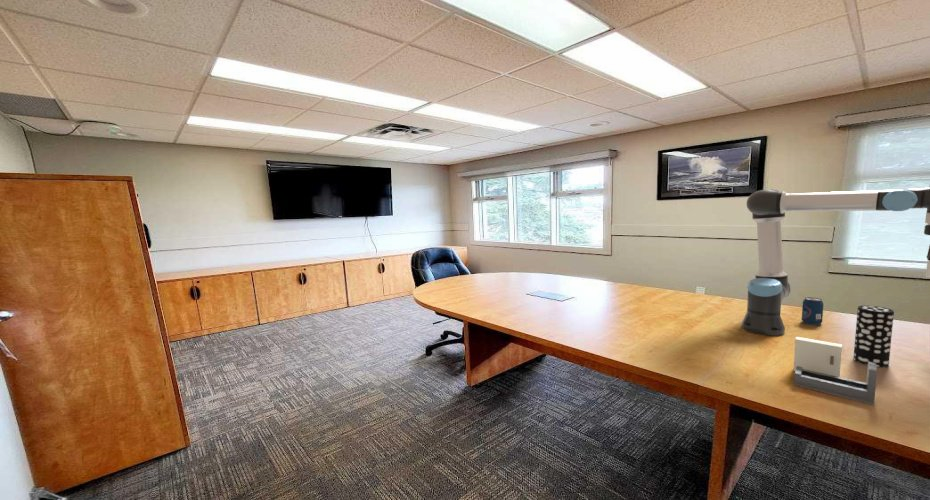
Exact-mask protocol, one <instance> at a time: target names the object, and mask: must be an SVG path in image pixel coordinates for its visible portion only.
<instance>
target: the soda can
mask: <svg viewBox="0 0 930 500" xmlns="http://www.w3.org/2000/svg"><path fill="white" fill-rule="evenodd" d="M824 304H825V303H824V302H823V300H822V299H821V298H819V297H809V296H807V297H804V299H803V300H802V309H801V321H802V322H803V323H804V324H807V325H811V326H820V325H822V323H823V317H824V316H823V315H824Z"/></svg>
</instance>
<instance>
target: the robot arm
mask: <svg viewBox="0 0 930 500" xmlns="http://www.w3.org/2000/svg"><path fill="white" fill-rule="evenodd" d="M746 208H747V209H748V211H749V212H750V213H752V214H751V215H752V220H753V221H755V223H756V231H757V233H756V234H757V251H758V255H757V256H758V271H757V272H756V273H755V274H754V275H755V278H752V279H751V280H749V281H748V284H747V300H746V301H747V305H746V309H747V310H746V313H745V315H744V316H743V317H744V318H743V319H742V321H741V328H742V329H743V330H744V331H747V332H751V333H753V334H758V335H762V336H763V335H764V336H782V335H783V336H784V335H785V331H786V329H785V328H786V327H785V325H784V322H783V320H782V316H781V309H782V307H781V306H782V301H783V300H785V299H786V298H788V296H789V295H790V293H791V285H790V283H789V278H788V277H789V276H788V275H789V274H788V273H787V272H785V271H784V266H783V264H784V262H783V241H782V239H783V238H782V221H783V219H785V217H786V212H833V211H834V212H837V211H838V212H841V211H843V212H847V211H848V212H849V211H852V212H857V211H858V212H859V211H862V212H863V211H865V212H867V211H880V212H881V211H883V212H884V211H885V212H887V211H893V212H904V211H908V210H911V209H926V213H925V221H924V222H925V225H924V230H923V234H924V235H926V236H930V185H929V186H928V187H921V188H899V189H898V188H895V189H894V188H890V189H882V190H879V189H878V190H859V191H858V190H854V191H830V192H828V191H827V192H826V191H825V192H824V191H823V192H822V191H821V192H797V193H795V192H794V193H788V192H786V191H780V190H777V189H770V188H769V189H759V190H757V191H754V192H753V193H751V194H750V195H749V197H747V200H746ZM926 259H927V262H926V269H925V271H926V272H925V278H926V279H928V278H929V279H930V245H929V246H928V251H927V255H926Z"/></svg>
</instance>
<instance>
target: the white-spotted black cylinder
mask: <svg viewBox="0 0 930 500" xmlns="http://www.w3.org/2000/svg"><path fill="white" fill-rule="evenodd" d="M894 314H895V310H894V309H891V308H888V307H883V306H876V305H858V306H857V313H856V323H855V324H856V325H855V334H854V335H855V336H854V337H855V338H854V347H853V360H854V361H856V362H858V363H861V364H863V365H867V366H868V362H874V363H876V367H877V368H887V367H889V365H890V357H891V347H892V346H891V345H892V337H893V324H894V316H895V315H894Z"/></svg>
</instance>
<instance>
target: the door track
mask: <svg viewBox="0 0 930 500" xmlns="http://www.w3.org/2000/svg"><path fill="white" fill-rule="evenodd" d="M877 377H878V367H876V363H874V362H868V365H867V371H866V379H865V380H866V382H865V381H860V380H859V381H858V380H855V379H850V378H846V377H842V376H840V377H837V376H833V375H828V374H824V373H819V372H814V371H810V370H805V369H803V367H799V366H797V367H796V370H795V372H794V380H793V386H795V385H796V387H799V386H800V387H801V388H803V387H804V389H807V388H808V389H807V390H811V389H813V391H815V390H816V392H819V391H820V392H819V393H823V392H824V393H823V394H827V393H828V394H827V395H831V394H832V396H836V397H839V398H844V399H848V400H852V401H856V402H860V403H864V404H868V405H873V406H874V405H875V400H876V399H875V397H876V390H877V389H876V387H877ZM800 387H799V388H800Z"/></svg>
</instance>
